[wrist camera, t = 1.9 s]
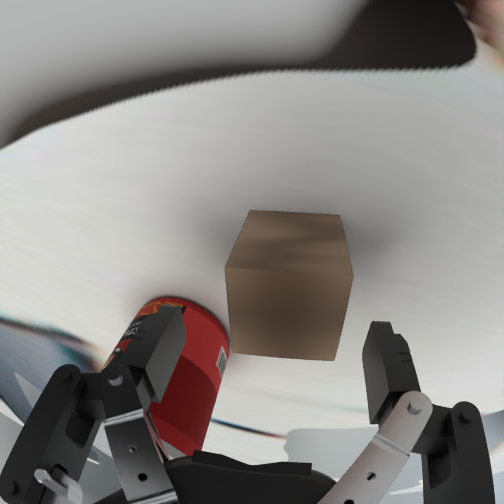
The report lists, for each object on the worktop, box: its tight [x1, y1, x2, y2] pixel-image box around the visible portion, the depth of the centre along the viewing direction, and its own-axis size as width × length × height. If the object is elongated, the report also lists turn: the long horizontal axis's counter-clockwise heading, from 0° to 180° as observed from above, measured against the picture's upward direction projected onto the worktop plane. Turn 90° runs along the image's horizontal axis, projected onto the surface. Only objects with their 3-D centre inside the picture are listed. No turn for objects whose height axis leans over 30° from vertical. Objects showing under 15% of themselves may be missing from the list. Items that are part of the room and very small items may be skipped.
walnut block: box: [225, 210, 354, 361], centre depth 15 cm, size 5×5×6 cm
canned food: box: [93, 297, 229, 460], centre depth 18 cm, size 8×8×11 cm
